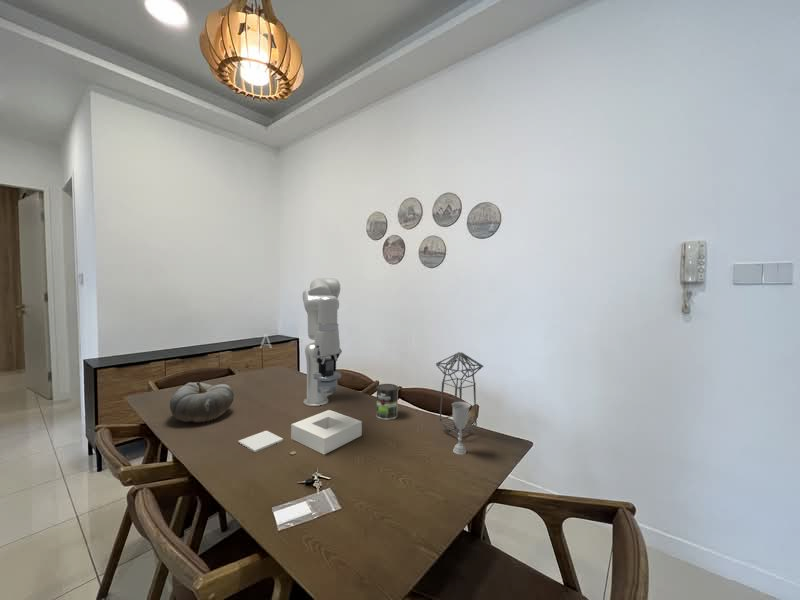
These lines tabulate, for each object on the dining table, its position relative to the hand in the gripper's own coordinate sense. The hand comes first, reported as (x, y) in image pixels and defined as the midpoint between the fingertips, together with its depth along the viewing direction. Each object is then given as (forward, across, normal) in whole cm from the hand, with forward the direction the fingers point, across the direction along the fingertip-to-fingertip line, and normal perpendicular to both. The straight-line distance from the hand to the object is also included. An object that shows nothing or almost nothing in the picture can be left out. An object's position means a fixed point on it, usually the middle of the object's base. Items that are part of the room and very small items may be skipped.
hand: (327, 371), depth 136 cm
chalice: (+27, -24, +48) cm, 60 cm away
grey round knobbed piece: (+8, 0, 0) cm, 8 cm away
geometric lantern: (+27, -38, +40) cm, 62 cm away
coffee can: (+28, -33, +5) cm, 43 cm away
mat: (+27, +19, -17) cm, 37 cm away
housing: (+27, 0, 0) cm, 27 cm away
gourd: (+28, +22, -60) cm, 70 cm away
